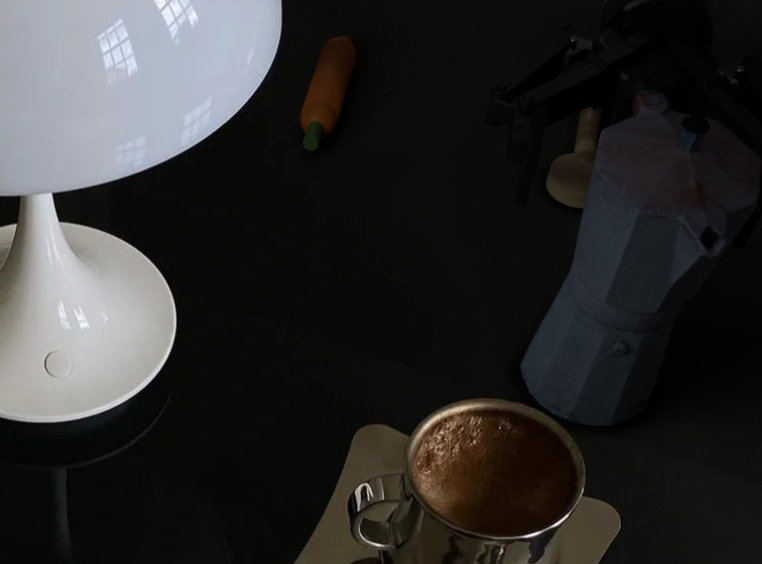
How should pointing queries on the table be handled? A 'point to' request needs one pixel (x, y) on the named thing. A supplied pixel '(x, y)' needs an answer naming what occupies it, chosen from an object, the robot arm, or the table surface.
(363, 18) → the table surface
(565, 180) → the spoon
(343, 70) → the carrot
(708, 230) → the moka pot
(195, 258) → the table surface
